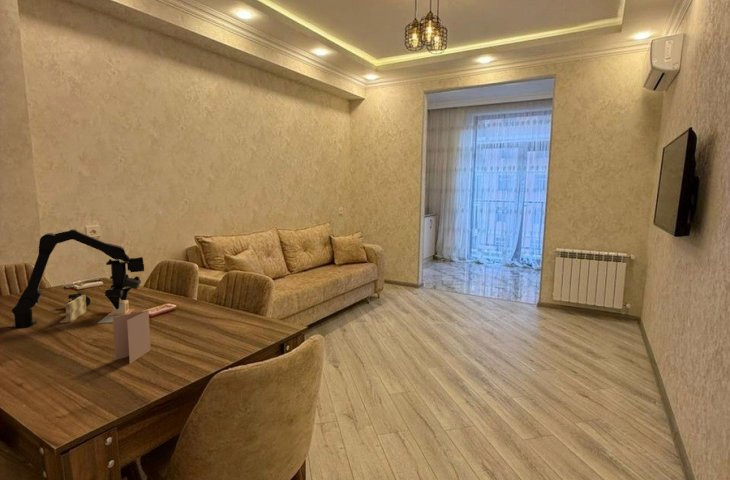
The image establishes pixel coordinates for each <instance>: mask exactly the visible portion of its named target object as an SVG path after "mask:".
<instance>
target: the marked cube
mask: <svg viewBox="0 0 730 480" xmlns="http://www.w3.org/2000/svg"><path fill="white" fill-rule="evenodd" d="M129 309H130V307H129V299H126V300H121V299H120V303H119V309H115V307H114V306H113V305H112V311H113V314H123V313H126V312H127V311H129Z"/></svg>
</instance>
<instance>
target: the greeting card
mask: <svg viewBox="0 0 730 480" xmlns="http://www.w3.org/2000/svg"><path fill="white" fill-rule="evenodd" d="M112 326H113V339H114V355H115V359H114V360H115V361H118V360H121V359H124V358H128V357H129V364H131V363H133V362H135V361H136V360H137V359H139V358H140V357H142V356H144V355H145V354H147V353H148V352H150V351H151V350H152V349H151V348H152V347H151V332H150V312H149V310H146V309H145V310H142V311H138V312H132V313H131V314H127V315H123V316H118V317H113V323H112Z"/></svg>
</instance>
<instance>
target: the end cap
mask: <svg viewBox="0 0 730 480" xmlns="http://www.w3.org/2000/svg"><path fill="white" fill-rule="evenodd" d="M81 295H86V294H85V293H84V292H82V291H78V292H77V293H74V294H68V295H67V297H68V299H71V300H68V303H69V302H71V301H73V300H74V299H76V298H78V297H79V296H81ZM90 304H91V298H90V297H89V296H87V295H86V308H88V307H89V306H90Z"/></svg>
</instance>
